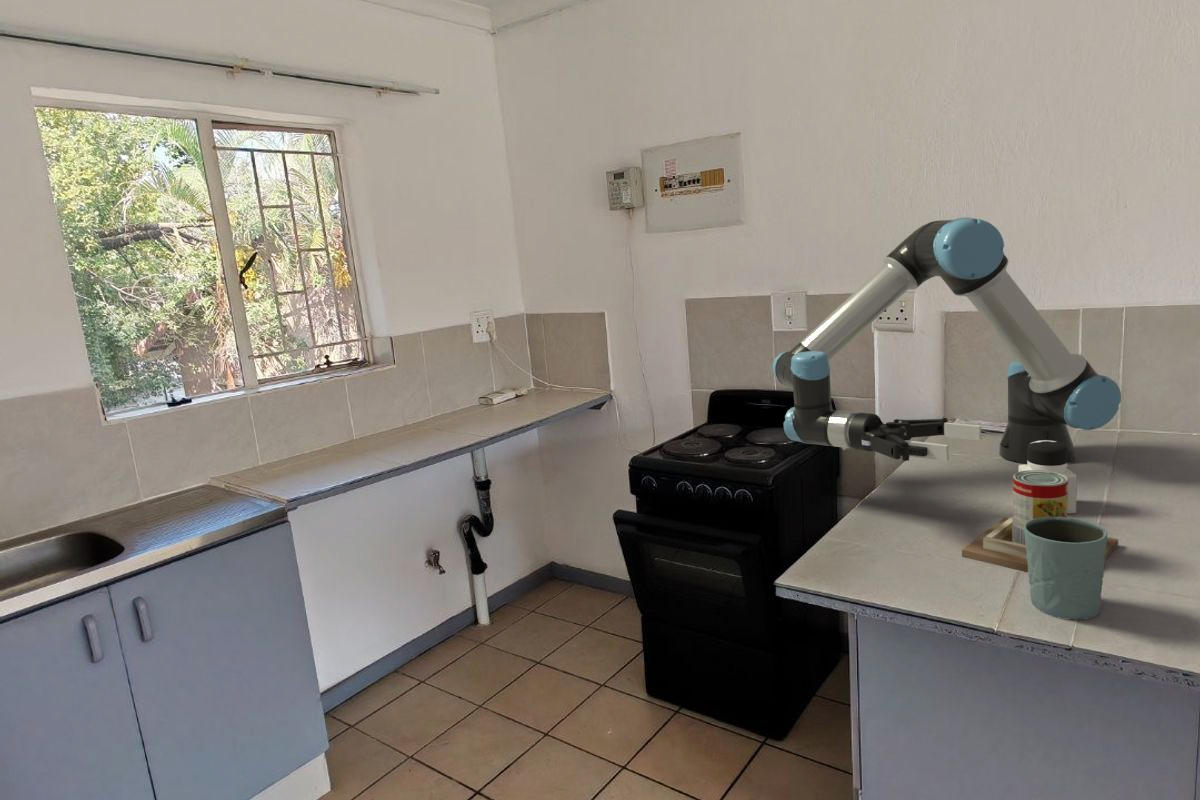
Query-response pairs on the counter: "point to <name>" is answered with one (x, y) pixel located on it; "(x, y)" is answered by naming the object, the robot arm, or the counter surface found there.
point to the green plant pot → (1065, 565)
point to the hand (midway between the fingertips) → (964, 442)
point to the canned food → (1037, 498)
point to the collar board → (1008, 547)
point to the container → (1052, 465)
